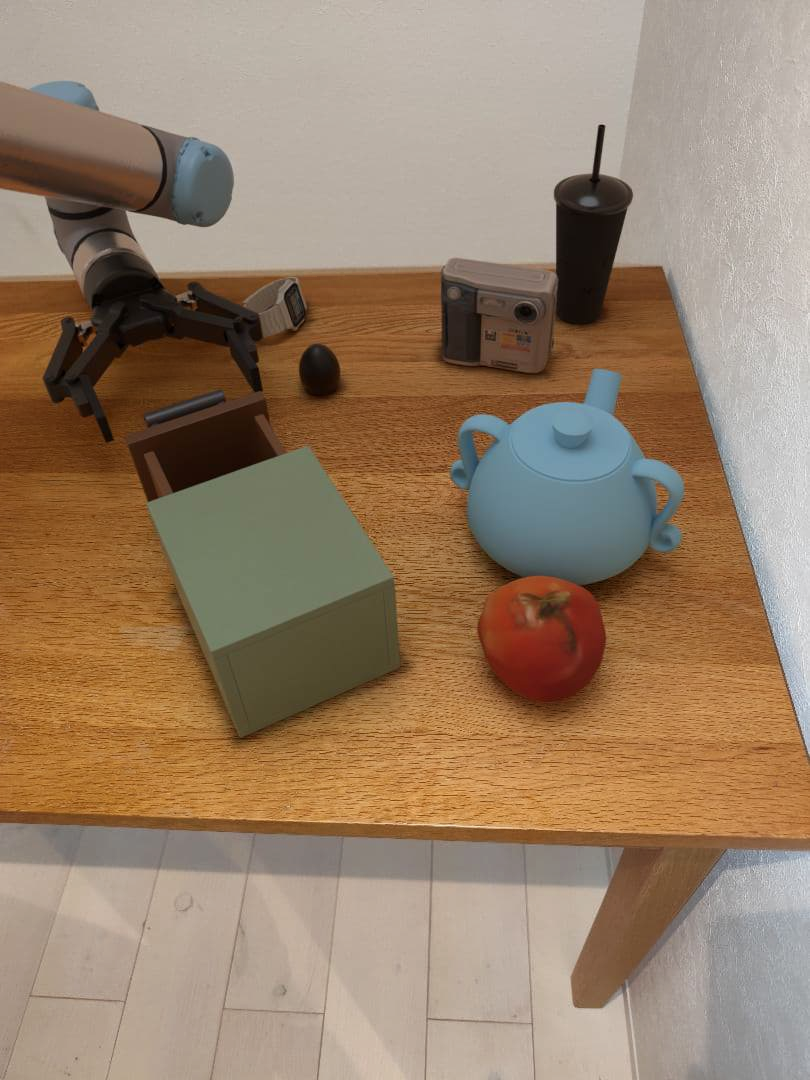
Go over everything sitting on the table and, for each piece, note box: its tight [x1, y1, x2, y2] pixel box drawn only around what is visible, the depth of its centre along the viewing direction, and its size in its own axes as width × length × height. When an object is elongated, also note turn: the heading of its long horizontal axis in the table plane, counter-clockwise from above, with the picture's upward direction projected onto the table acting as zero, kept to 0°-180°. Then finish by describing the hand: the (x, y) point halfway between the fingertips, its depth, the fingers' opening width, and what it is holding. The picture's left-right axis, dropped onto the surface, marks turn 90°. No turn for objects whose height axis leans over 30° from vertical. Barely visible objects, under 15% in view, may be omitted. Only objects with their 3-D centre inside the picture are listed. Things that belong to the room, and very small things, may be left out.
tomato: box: [476, 576, 607, 704], centre depth 64 cm, size 9×9×8 cm
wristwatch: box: [242, 276, 308, 338], centre depth 96 cm, size 9×6×5 cm
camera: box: [440, 257, 558, 374], centre depth 89 cm, size 11×6×10 cm, turn 70°
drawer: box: [124, 388, 288, 503], centre depth 73 cm, size 19×12×9 cm, turn 27°
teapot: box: [449, 368, 685, 586], centre depth 72 cm, size 20×20×13 cm
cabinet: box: [145, 445, 401, 739], centre depth 66 cm, size 15×13×11 cm
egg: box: [298, 343, 341, 396], centre depth 88 cm, size 4×4×5 cm
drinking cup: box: [553, 124, 634, 325], centre depth 90 cm, size 8×8×20 cm
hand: (183, 404), depth 77 cm, fingers open, 13 cm apart
